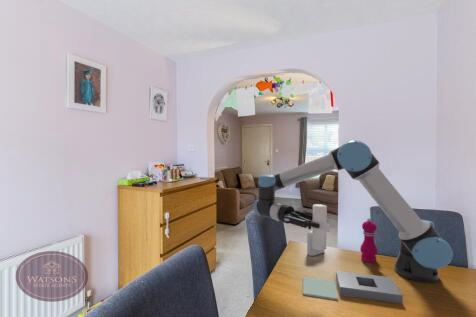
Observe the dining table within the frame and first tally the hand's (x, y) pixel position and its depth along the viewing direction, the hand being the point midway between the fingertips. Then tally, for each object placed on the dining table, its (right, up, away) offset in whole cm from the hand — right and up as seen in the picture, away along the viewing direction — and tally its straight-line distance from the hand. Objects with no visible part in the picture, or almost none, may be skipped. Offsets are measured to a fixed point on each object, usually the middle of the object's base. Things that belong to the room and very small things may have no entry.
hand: (332, 226), depth 88 cm
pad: (-3, -25, +5) cm, 26 cm away
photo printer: (+5, -24, +36) cm, 44 cm away
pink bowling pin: (+28, -24, +29) cm, 47 cm away
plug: (-3, -9, +5) cm, 11 cm away
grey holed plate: (+14, -25, +4) cm, 29 cm away
